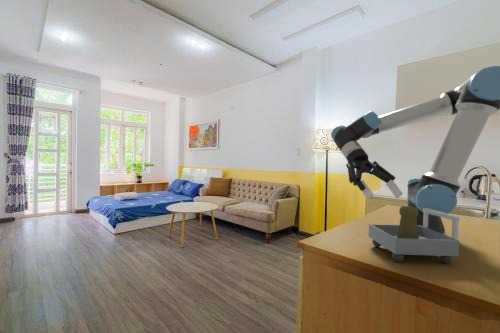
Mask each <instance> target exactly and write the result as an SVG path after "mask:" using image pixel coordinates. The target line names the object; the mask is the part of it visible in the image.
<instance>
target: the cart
mask: <svg viewBox="0 0 500 333" xmlns="http://www.w3.org/2000/svg"><path fill="white" fill-rule="evenodd" d="M428 213H430V214H433V215H436V216H440V217H441V218H442V219H443V218H444V219H447V220H450V221H451V222H452V223H451V236H448V235H446V234H445V235H443V234H441V233H438V232H436V231H433V230H431V229H428V228H425V227H428ZM459 223H460V216H457V215H454V214H450V213H449V214H446V213H442V212H439V211H435V210H431V209H428V208H423V226H420V225H417V228H418V237H419V239H407V238H397V235H398V230H399V224H384V223H383V224H382V223H381V224H379V223H378V224H377V223H368V237H369V238H370V239H371V243H372V245H373V246H374V247H375V248H376V247H377V248H378V247H379V248H380V247H381V246H382V247H384V248H385V249H387V250H388V251H389V252H391V257H392V260H394V261H395V262H398V263H400V262H403V261H404V258H405V255H407V256H408V255H409V256H410V255H411V256H437V257H439V260H440V261H441V262H442V263H443V264H450V263H452V262H453V257H459V255H460V240H459V225H460V224H459Z"/></svg>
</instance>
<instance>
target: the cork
mask: <svg viewBox="0 0 500 333" xmlns="http://www.w3.org/2000/svg"><path fill="white" fill-rule="evenodd" d="M398 213H399V215H400V221H399V224H398V225H399V230H398V235H397V238H407V239H419V237H418V228H417V220H416V218H417V217H418V214H419V212H418V209H417V208H415V207H411V206H407V205H405V206H404V205H403V206H401V207H399V212H398Z"/></svg>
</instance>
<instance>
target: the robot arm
mask: <svg viewBox="0 0 500 333" xmlns="http://www.w3.org/2000/svg"><path fill="white" fill-rule="evenodd" d="M499 110H500V65H492V66H487V67H484V68H481V69H480V70H477V71H476V72H474V73H473V74H472V75H471V76H470V77H469V78H468V79H467V80H466V81H464V82H463V83H462V84H461V85H459V86H457V87H455V88H453V89H451V90H448V91H445V92H443V93H441V95H440V96H438V97H435V98H432V99H429V100H426V101H425V100H424V101H422V102H419V103H417V104H413V105H410V106H407V107H404V108H401V109H398V110H395V111H391V112H389V113H385V114H382V115H379V116H378V114H377V113H375V111H374V110H369V111H368V112H366V113H364V114H362V115H361V116H360V117H359V118H357V119H356V120H355V121H353V122H352V123H351V124H349V125H347V126H345V125H342V124H341V125H339V126H336V127H334V128H333V129H332V130H331V133H330V137H331V139H332V140H333V142H334V143H335V145H336V146H337V148H338V150H339V151H340V152H341V153H342V155H343V156H344V158H345V160H346V161H347V163H346V164H345V166H346V168H347V173H348V180H349V183H350V184H352V185H353V186H357V188H359V190H360V191H361V192H362V193H363V195H364V197H365V198H366V200H370V199H371V198H372V197H373V196H374V193H373V191H372V190H371V189H370V187H369V186H368V184H367V183H366V182H365V180H364V179H362V175H363V174H370V175H372V176H374V177H376V178H378V179H380V180H381V181H383V182H384V183H385V186H387V188H388V189H389V191H391V194H393V196H394V197H395V198H396V199H398V198H400V197H401V196H402V195H403V194H404V192H402V190H401V189H400V188H399V187H398V185H397V184H396V183H395V181H394V180H395V179H396V176H395V175H393V174H392V173H390V172H389V171H388V170H386V169H385V168H384V167H383V166H381V165H380V164H379V163H378V162H377V161H376V160H375V161H373V162H371V161H370V160H369V155H368V153H367V152H366V151H365V150H364V148H363V147H362V145H361V144H360V143H359V142H358V141H359V140H361V139H367V138H370V137H372V136H374V135H375V136H376V135H378V134H382V133H384V132H387V131H388V132H389V131H391V130H395V129H398V128H402V127H405V126H409V125H412V124H416V123H419V122H423V121H427V120H429V119H433V118H434V119H435V118H436V117H441V116H444V115H447V116H453V115H455V117H454V119H453V121H452V123H451V125H450V127H449V129H448V131H447V134H446V136H445V137H444V140H443V142H442V145H441V146H440V149H439V151H438V153H437V155H436V157H435V160H434V161H433V164H432V166H431V167H430V170H429V171H428V172H426V173H423V174H422V175H421V177H419V178H410V179H408V181H407V199H406V200H407V201H406V202H407V203H406V206H411V207H415V208H417V209H418V212H419V214H418V217H417V218H416V220H417V225H420V226H423V208H428V209H431V210H435V211H439V212H442V213H446V214H450V213H452V212H453V211H454V210H455V209H456V207H457V205H458V197H457V195H458V192H459V191H460V188H461V184H460V182H459V178H460V176H461V174H462V173H463V170H464V168H465V167H466V164H467V162H468V160H469V158H470V156H471V154H472V152H473V150H474V148H475V146H476V144H477V142H478V141H479V138H480V136H481V134H482V132H483V129H484V128H485V127H486V126H485V125H486V124H487V122H488V120H489V118H490V116H492V115H495V114H498V112H499ZM425 228H428V229H431V230H433V231H436V232H438V233H441V234H443V235H446V229H445V226H444V222H443V220H442V217H440V216H436V215H433V214H430V213H428V227H425Z"/></svg>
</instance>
